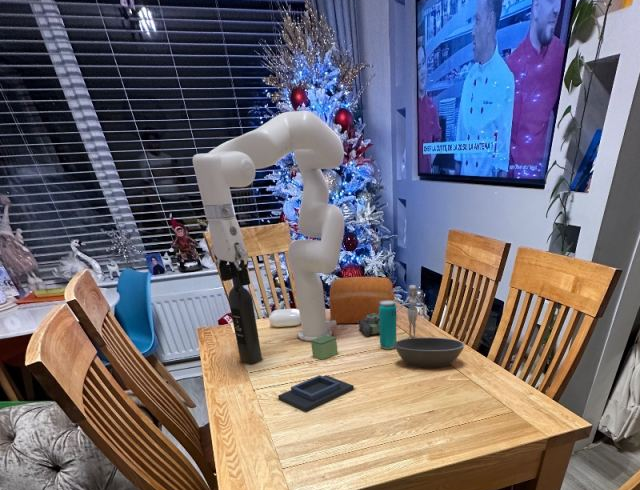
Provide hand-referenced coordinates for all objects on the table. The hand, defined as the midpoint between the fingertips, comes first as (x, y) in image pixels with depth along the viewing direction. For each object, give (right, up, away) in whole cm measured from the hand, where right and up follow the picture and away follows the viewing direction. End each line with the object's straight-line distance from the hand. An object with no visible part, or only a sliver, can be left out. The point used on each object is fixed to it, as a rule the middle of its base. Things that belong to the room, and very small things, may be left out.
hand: (236, 282), depth 125 cm
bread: (+35, +11, +52) cm, 64 cm away
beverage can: (+45, -10, +26) cm, 53 cm away
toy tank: (+40, 0, +39) cm, 56 cm away
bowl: (+58, -19, +14) cm, 62 cm away
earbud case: (+4, +7, +50) cm, 50 cm away
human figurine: (+54, -5, +32) cm, 63 cm away
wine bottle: (-2, -17, +20) cm, 26 cm away
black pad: (+24, -33, -2) cm, 41 cm away
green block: (+23, -14, +22) cm, 35 cm away
